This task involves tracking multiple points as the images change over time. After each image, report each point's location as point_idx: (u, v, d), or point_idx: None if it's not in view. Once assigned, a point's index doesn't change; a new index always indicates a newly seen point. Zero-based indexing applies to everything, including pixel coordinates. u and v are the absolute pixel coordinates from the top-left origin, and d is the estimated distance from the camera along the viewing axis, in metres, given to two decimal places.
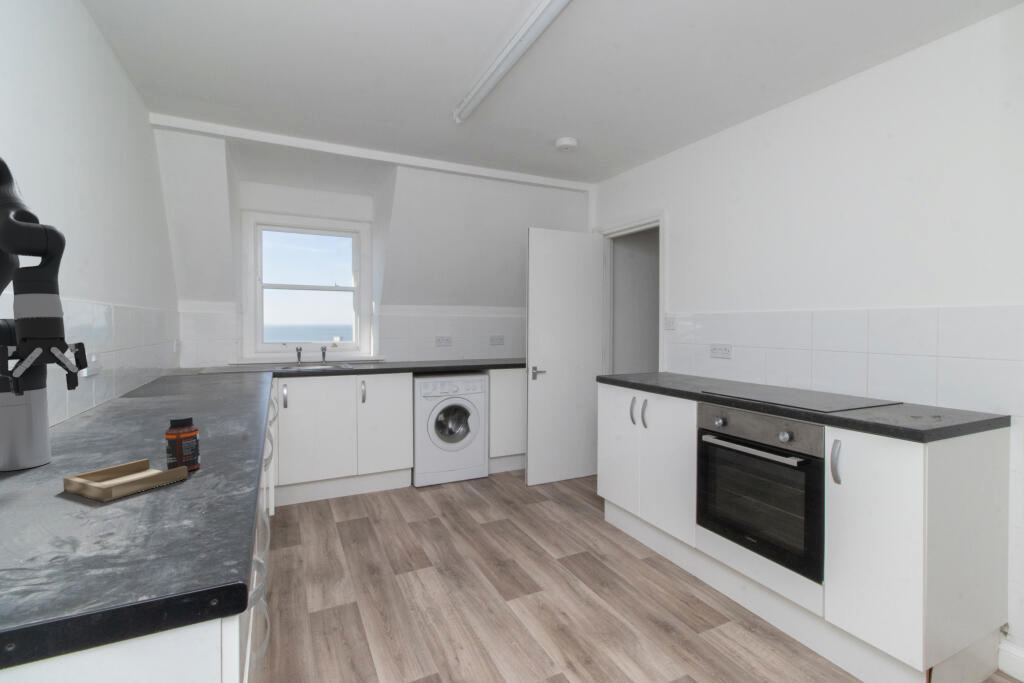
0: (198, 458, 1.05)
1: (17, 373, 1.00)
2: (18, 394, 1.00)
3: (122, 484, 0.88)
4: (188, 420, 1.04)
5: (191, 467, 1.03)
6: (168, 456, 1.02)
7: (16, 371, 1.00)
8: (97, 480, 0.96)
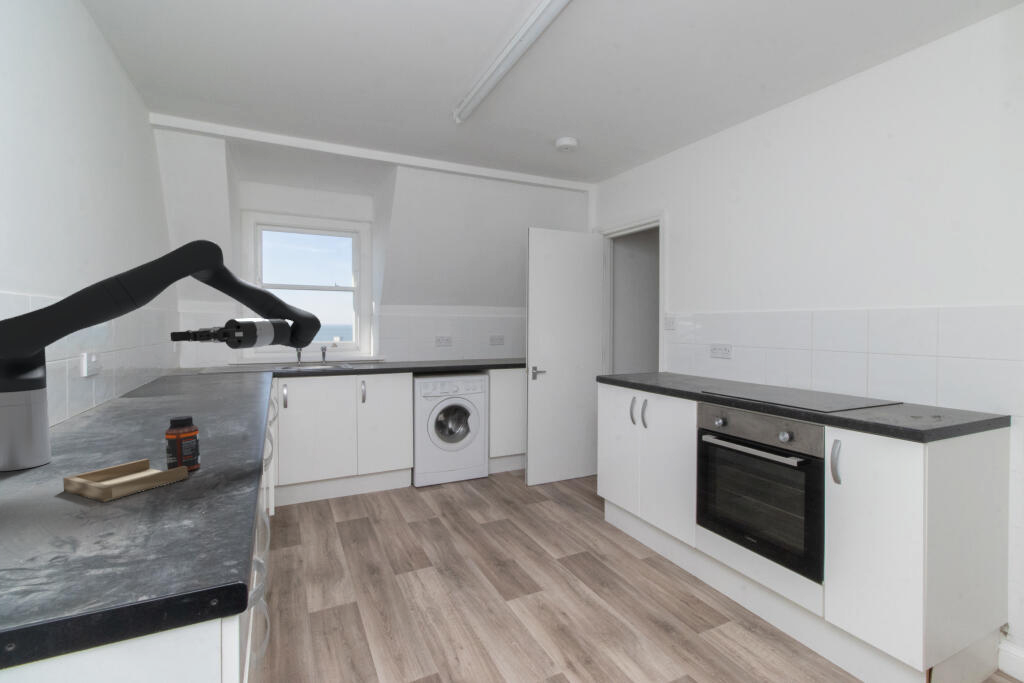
0: (198, 458, 1.05)
1: (213, 340, 1.13)
2: (193, 339, 1.09)
3: (122, 484, 0.88)
4: (188, 420, 1.04)
5: (191, 467, 1.03)
6: (168, 456, 1.02)
7: (215, 340, 1.13)
8: (97, 480, 0.96)
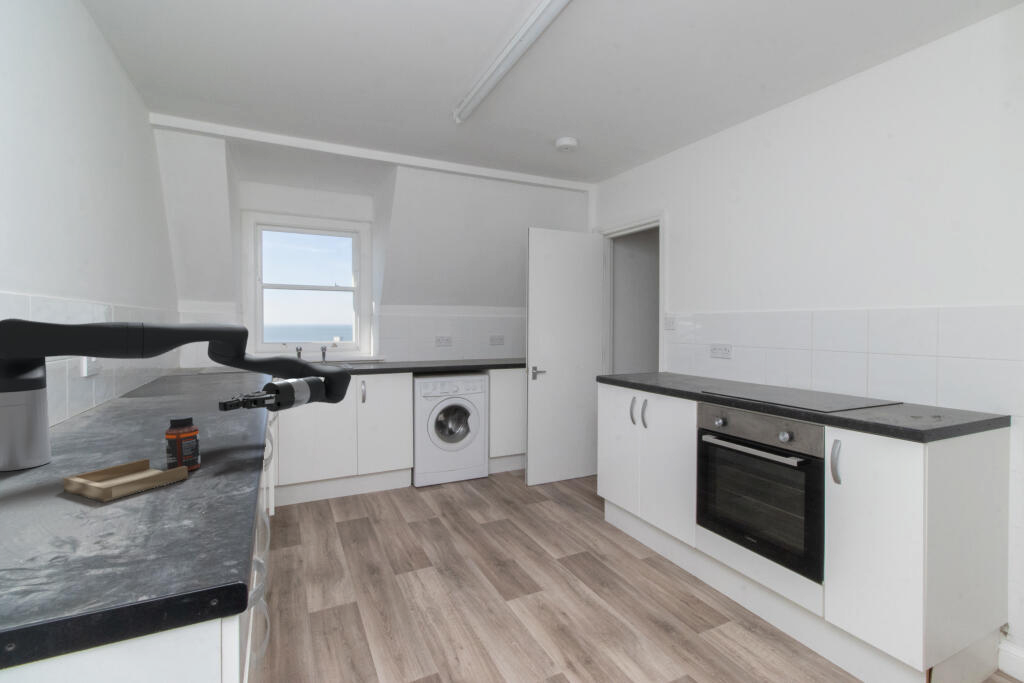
0: (198, 458, 1.05)
1: None
2: (224, 409, 1.11)
3: (122, 484, 0.88)
4: (188, 420, 1.04)
5: (191, 467, 1.03)
6: (168, 456, 1.02)
7: None
8: (97, 480, 0.96)
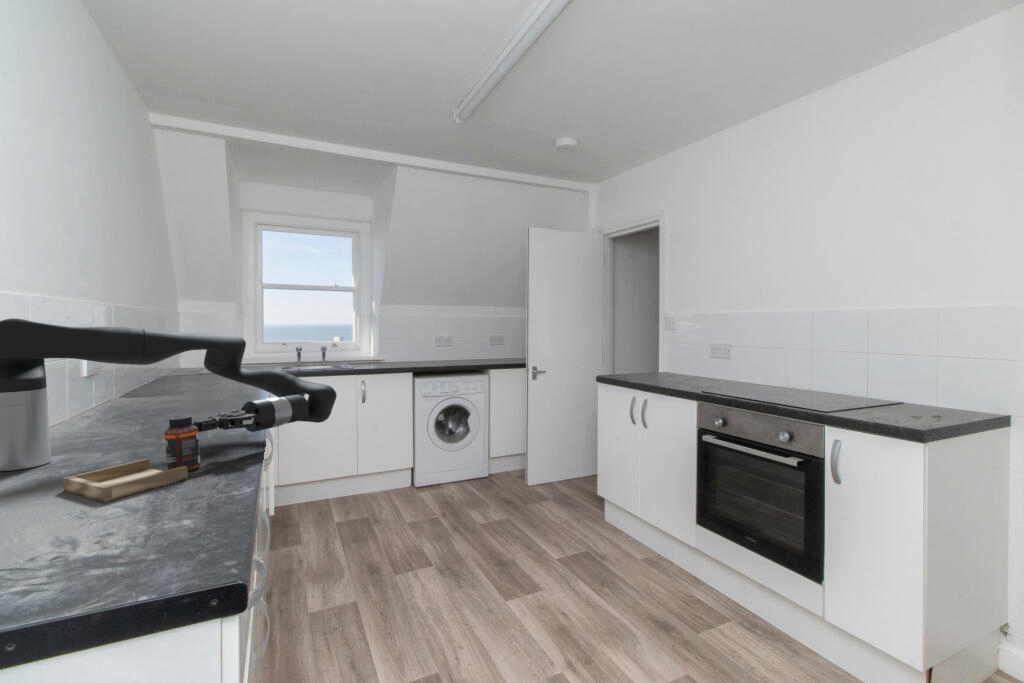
0: (198, 458, 1.05)
1: None
2: (198, 430, 1.07)
3: (122, 484, 0.88)
4: (187, 420, 1.04)
5: (191, 467, 1.03)
6: (168, 456, 1.02)
7: None
8: (97, 480, 0.96)
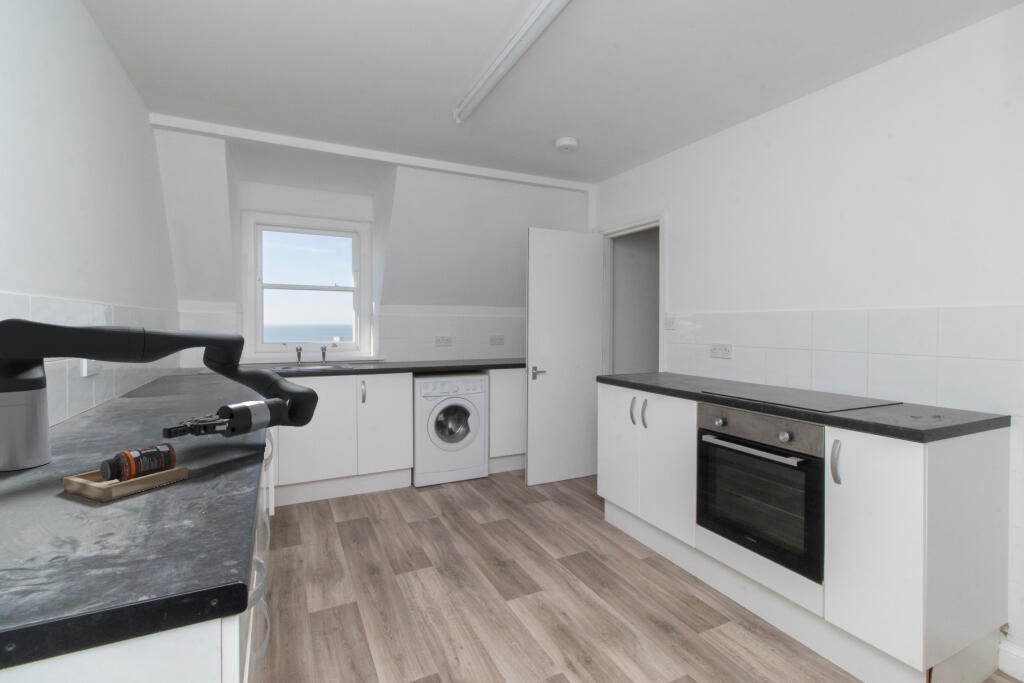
0: (163, 450, 1.00)
1: None
2: (168, 436, 1.01)
3: (122, 484, 0.88)
4: (113, 468, 0.92)
5: (172, 457, 1.00)
6: None
7: None
8: (97, 480, 0.96)
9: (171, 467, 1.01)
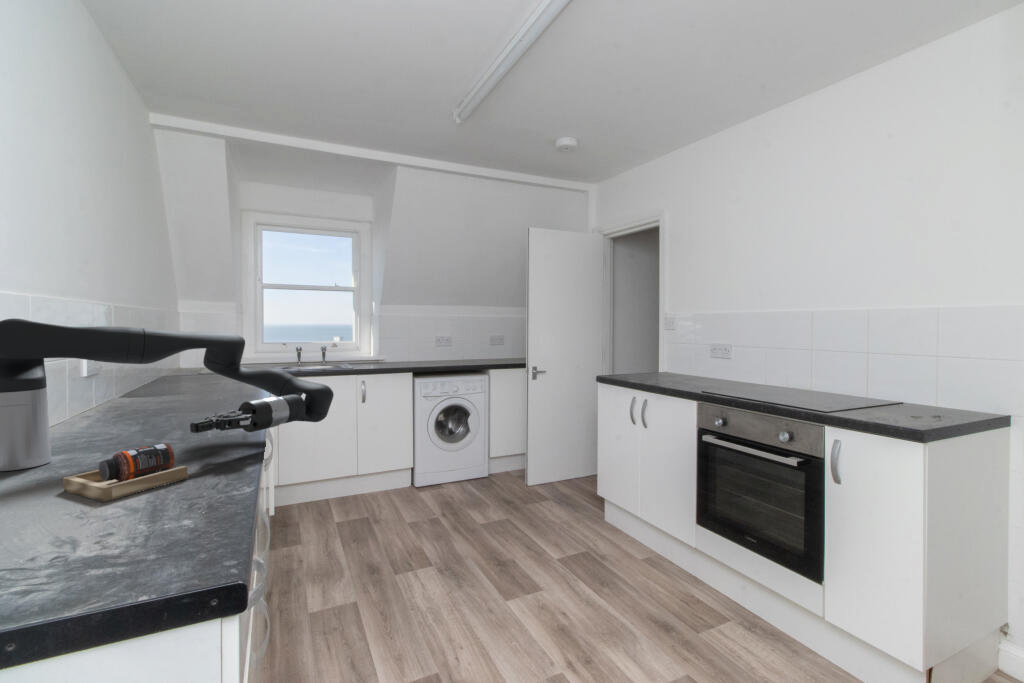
0: (160, 448, 1.00)
1: None
2: (195, 431, 1.06)
3: (122, 484, 0.88)
4: (111, 466, 0.93)
5: (170, 454, 1.01)
6: None
7: None
8: (97, 480, 0.96)
9: (170, 465, 1.01)
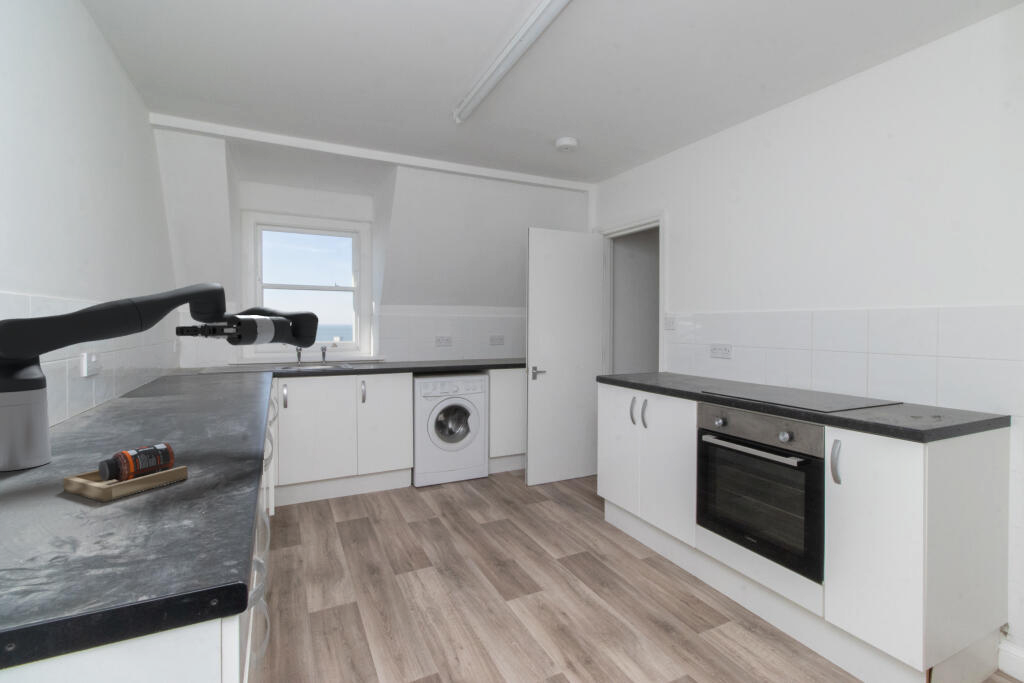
0: (160, 448, 1.00)
1: (200, 336, 1.14)
2: (180, 333, 1.10)
3: (122, 484, 0.88)
4: (111, 466, 0.93)
5: (170, 454, 1.01)
6: None
7: (202, 336, 1.14)
8: (97, 480, 0.96)
9: (170, 465, 1.01)
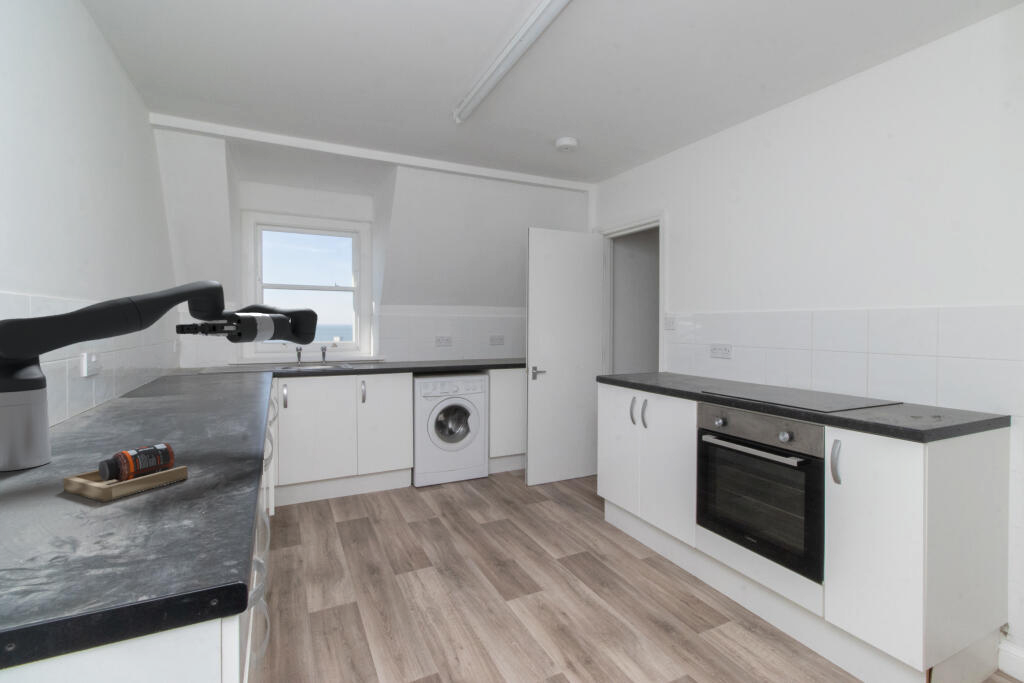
0: (160, 448, 1.00)
1: None
2: (181, 332, 1.10)
3: (122, 484, 0.88)
4: (111, 466, 0.93)
5: (170, 454, 1.01)
6: None
7: (202, 333, 1.14)
8: (97, 480, 0.96)
9: (170, 465, 1.01)
